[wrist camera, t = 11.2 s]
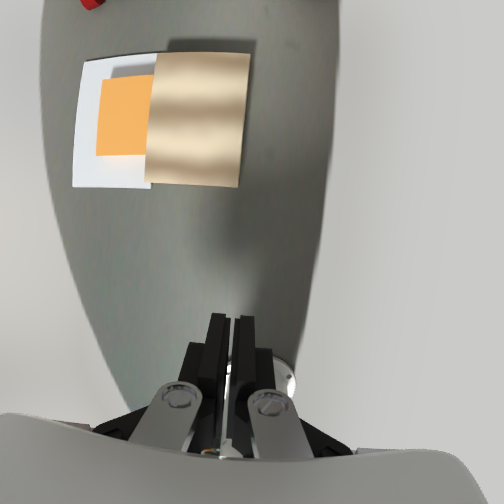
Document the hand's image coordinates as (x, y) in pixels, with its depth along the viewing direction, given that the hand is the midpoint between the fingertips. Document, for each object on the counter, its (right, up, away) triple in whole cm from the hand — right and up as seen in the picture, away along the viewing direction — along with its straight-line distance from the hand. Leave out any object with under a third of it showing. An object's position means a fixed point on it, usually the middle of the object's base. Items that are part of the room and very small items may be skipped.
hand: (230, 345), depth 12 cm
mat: (-17, +21, +22) cm, 35 cm away
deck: (-6, +20, +22) cm, 30 cm away
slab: (-15, +21, +21) cm, 33 cm away
